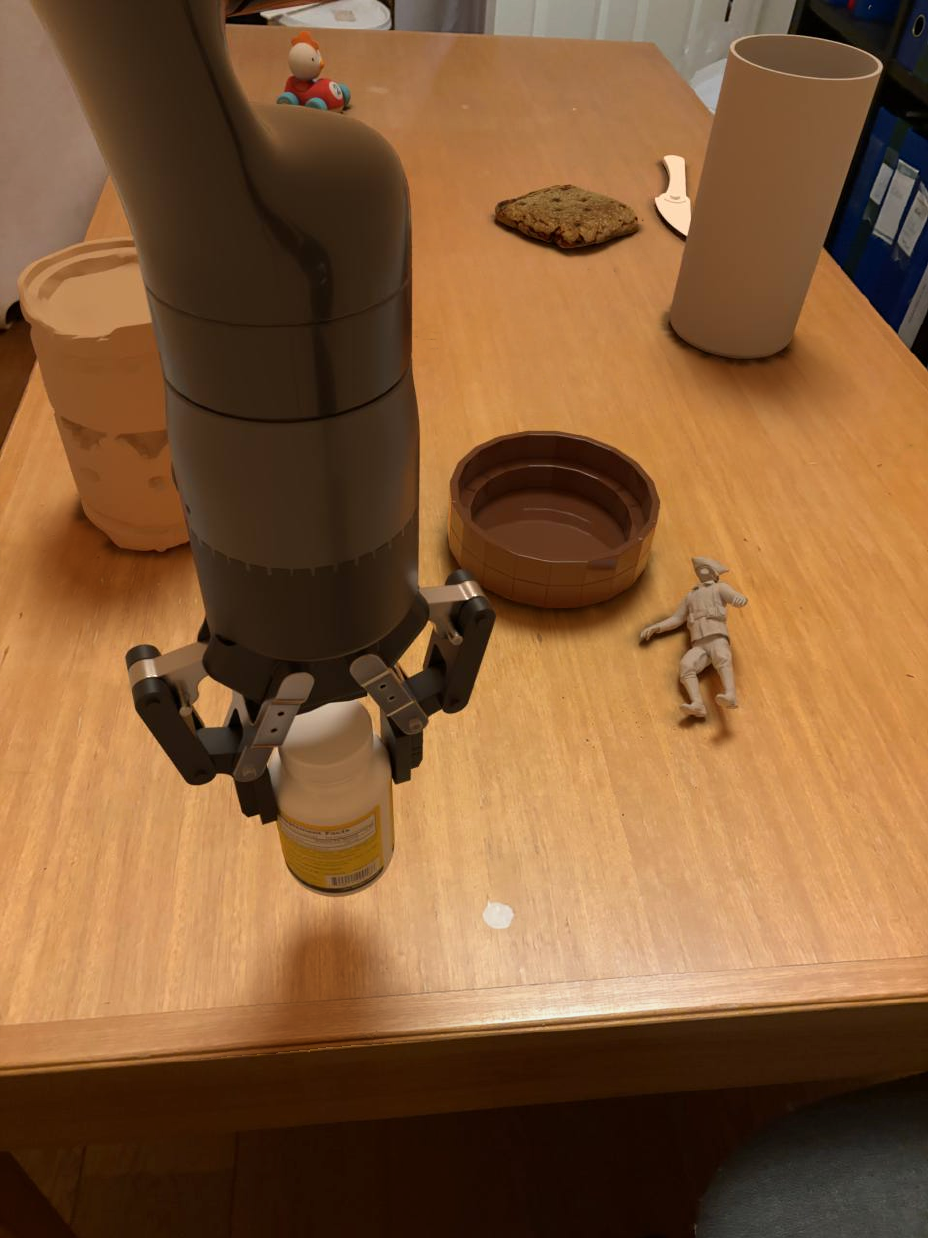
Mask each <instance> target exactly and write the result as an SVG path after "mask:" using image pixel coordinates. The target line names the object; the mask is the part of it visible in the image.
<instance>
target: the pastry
mask: <svg viewBox="0 0 928 1238" xmlns="http://www.w3.org/2000/svg"><path fill="white" fill-rule="evenodd" d="M494 213H495V218H496V220H497V221H498V222H499V223H503V225H505V226H508V227H511V228H513V229H514V228H515V229H517V230H520V231H521V232H522V233H523V234H524V235H525V236H527V237H530V238H532V239H538V240H542V241H544V242H547V243H551V242H553V243H556V244H557V245H558V247H559V248H562V249H572V248H573V249H574V248H576V247H578V248H579V247H584V246H588V245H593V244H600V243H604V242H607V241H609V240H612V239H613V238H616V237H619V236H621V237H622V236H626V235H628V234H632V233H634V232H636V231H637V230H638V229H639V224H638V220H639V218H638V215H637V214H636V212H635V210H634V209H633V208H632V207H630V206H629V205H628V204H627V203H624V202H623V201H619V200H618V199H615V198H613V197H609V196H608V195H604V194H601V193H598V192H594V191H591V190H586V189H584V188H581V187H579V186H577V185H574V184H570V183H569V184H563V185H560V184H555V185H552V186H549V187H545V188H541V189H538V190H534V191H530V192H528V193H526V194H522V195H521V196H518V197H515V198H511V199H504V200H501V201H499V202H497V204H496V205H495V207H494Z"/></svg>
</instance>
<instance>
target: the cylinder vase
mask: <svg viewBox="0 0 928 1238" xmlns="http://www.w3.org/2000/svg"><path fill="white" fill-rule="evenodd" d="M725 63H726V64H725V66H724V72H723V76H722V79H721V80H722V81H721V84H720V89H719V93H718V98H717V103H716V106H715V110H714V111H715V112H714V116H713V120H712V124H711V129H710V134H709V138H708V143H707V147H706V151H705V156H704V161H703V164H702V169H701V172H700V173H701V174H700V178H699V182H698V187H697V191H696V194H695V199H694V204H693V208H692V212H691V221H690V226H689V230H688V235H687V236H686V239H685V244H684V248H683V253H682V256H681V257H682V258H681V262H680V266H679V270H678V274H677V279H676V284H675V288H674V292H673V297H672V301H671V306H670V309H669V322H670V325H671V327H672V329H673V330H674V332H675V333H676V334H677V335H678V336H679V337H680V338H681V339H682V340H683V341H685V342H686V343H687V344H689V345H690V346H692V347H694V348H696V349H698V350H700V351H703V352H706V353H708V354H712V355H715V356H718V357H724V358H731V359H738V360H739V359H740V360H751V359H760V358H765V357H769V356H772V355H774V354H777V353H779V352H781V351H782V350H784V349H785V348H787V346H788V345H789V344H790V342H791V340H792V339H793V337H794V333H795V331H796V328H797V324H798V322H799V319H800V317H801V312H802V310H803V307H804V304H805V300H806V298H807V295H808V292H809V289H810V286H811V283H812V280H813V277H814V274H815V272H816V268H817V265H818V262H819V259H820V256H821V253H822V250H823V247H824V244H825V241H826V239H827V235H828V232H829V229H830V226H831V223H832V222H833V221H832V220H833V217H834V215H835V211H836V208H837V206H838V202H839V200H840V197H841V194H842V190H843V188H844V184H845V181H846V180H847V179H846V178H847V176H848V172H849V170H850V167H851V163H852V160H853V158H854V155H855V152H856V149H857V146H858V143H859V139H860V137H861V134H862V131H863V129H864V125H865V122H866V119H867V116H868V113H869V110H870V107H871V104H872V101H873V98H874V95H875V92H876V90H877V87H878V83H879V80H880V77H881V75H882V71H883V69H884V65H883V63H882V62H881V60H880V59H879V58H877V57H876V56H874V54H873V55H872V54H871V53H870V52H868V51H865V50H863V49H860V48H858V47H855V46H852V45H849V44H845V43H842V42H839V41H834V40H829V39H825V38H819V37H813V36H807V35H797V34H786V33H785V34H784V33H772V34H771V33H765V34H764V33H763V34H754V35H748V36H742V37H740V38H737V39H735V40H733V41H732V42H731V43H730V45H729V50H728V54H727V58H726V62H725Z"/></svg>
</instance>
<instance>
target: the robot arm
mask: <svg viewBox="0 0 928 1238" xmlns="http://www.w3.org/2000/svg"><path fill="white" fill-rule="evenodd" d="M337 1H338V2H339V0H28V2H29V4H30V6H31V7H32V9H33V12H34V14H35V15H36V17H37V19H38V21H39V24H40V26H41V27H42V30H43V31H44V33H45V35H46V37H47V39H48V41H49V43H50V45H51V47H52V49H53V51H54V53H55V55H56V58H57V59H58V62H59V64H60V65H61V67H62V69H63V71H64V73H65V76H66V78H67V80H68V82H69V84H70V86H71V88H72V91H73V94H74V95H75V97H76V101H77V102H78V104H79V106H80V109H81V111H82V113H83V115H84V117H85V120H86V122H87V124H88V126H89V128H90V131H91V134H92V135H93V137H94V141H95V143H96V145H97V147H98V150H99V152H100V154H101V157H102V159H103V162H104V164H105V166H106V169H107V171H108V173H109V176H110V178H111V180H112V183H113V185H114V188H115V191H116V194H117V197H118V198H119V201H120V204H121V206H122V209H123V212H124V214H125V217H126V220H127V223H128V226H129V230H130V233H131V236H133V239H134V243H135V247H136V251H137V256H138V261H139V266H140V271H141V275H142V279H143V284H144V289H145V294H146V298H147V303H148V308H149V312H150V317H151V322H152V327H153V331H154V336H155V341H156V345H157V350H158V355H159V360H160V364H161V367H162V375H163V381H164V390H165V411H166V426H167V436H168V443H169V448H170V454H171V459H172V461H171V471H172V478H173V482H174V484H175V486H176V489H177V491H178V493H179V495H180V500H181V504H182V509H183V513H184V518H185V522H186V527H187V531H188V536H189V540H190V541H189V543H190V549H191V553H192V558H193V562H194V568H195V572H196V577H197V582H198V586H199V590H200V594H201V599H202V604H203V608H204V613H205V614H204V618H203V621H202V623H201V626H200V627H199V630H198V632H197V636H196V641H195V642H193V643H189V644H187V645H185V646H182V647H179V648H177V649H174V650H171V651H169V652H167V653H166V652H165V653H164V654H162V652H160V650H159V649H158V648H157V647H156V646H154V645H152V644H146V643H144V644H138V645H136V646H133V647H131V648H130V649H129V650H127V652H126V654H125V657H124V659H125V664H126V665H125V666H126V669H127V674H128V679H129V680H128V681H129V685H130V690H131V695H132V700H133V706H134V711H135V712H136V713H137V715H138V717H140V719H141V720H142V722H143V723H144V725H145V726H146V728H147V729H148V730H149V732H150V733H151V735H152V737H154V739H156V742H157V743H158V744H159V746H160V747H161V748H162V750H163V751H164V753H165V754H166V756H167V757H168V758H169V761H171V763H172V764H173V766H174V767H175V768H176V770H177V771H178V773H179V774H180V775H181V777H182V778H183V780H184V781H185V782H186V784H188V785H190V786H196V787H197V786H204V785H206V784H208V783H210V782H212V781H213V780H214V779H215V778H216V776H217V775H228V776H230V777H231V778H232V781H233V784H234V788H235V792H236V796H237V800H238V804H239V808H240V810H241V813H242V814H243V815H244V816H245V817H247V818H252V817H255V816H259V819H260V823H261V825H262V826H264V825H267V824H271V823H273V822H276V821H278V816H277V811H276V805H275V800H274V794H273V789H272V783H271V778H270V773H269V770H268V764H269V761H270V758H271V755H272V753H273V751H274V749H275V747H281V746H282V745H283V743H284V741H285V739H286V736H287V734H288V732H289V730H290V727H291V725H292V723H293V721H294V718H295V716H297V715H301V714H304V713H308V712H311V711H313V710H315V709H317V708H320V707H322V706H324V705H326V704H329V703H336V702H347V701H352V700H356V699H357V700H359V699H362V698H367V697H368V696H370V698H371V699H372V700H373V701H374V702H375V703H376V704H377V706H378V707H379V726H380V727H379V729H380V738H381V739H382V741H383V742H384V744H385V746H386V748H387V750H388V753H389V756H390V761H391V768H392V782H393V784H394V785H395V786H397V785H401V784H403V783H406V782H410V781H412V770H414V769H416V768H417V769H418V768H419V767H420V765H421V763H422V761H423V760H424V730H425V729H426V728H427V727H428V725H429V724H430V723H429V722H430V719H429V718H430V717H431V716H432V715H435V714H436V713H438V712H440V711H442V712H443V713H445V714H446V715H447V714H448V715H453V714H457V713H459V712H461V711H463V710H464V709H465V708H466V707H467V706H468V704H469V702H470V699H471V696H472V693H473V690H474V687H475V683H476V681H477V678H478V675H479V672H480V669H481V665H482V663H483V660H484V656H485V655H486V654H485V653H486V651H487V648H488V644H489V641H490V638H491V635H492V633H493V629H494V627H495V623H496V621H497V613H496V611H495V610H494V608H493V607H492V604H491V603H490V601H489V598H488V597H487V595H486V593H485V591H484V589H483V587H482V586H481V585H479V583H478V582H477V581H476V579H475V577H474V576H473V574H472V572H471V571H470V570H467V569H461V568H460V569H457V570H454V571H453V572H452V573H450V574H449V575H448V576H447V577H446V579H445V582H444V585H438V586H437V585H436V586H427V587H426V586H425V587H420V585H419V576H420V575H419V572H420V571H419V568H420V567H419V566H420V565H419V564H420V563H419V561H420V559H419V558H420V478H421V477H420V474H421V473H420V472H421V471H420V470H421V469H420V467H421V466H420V465H421V462H420V461H421V428H420V427H421V426H420V414H419V406H418V398H417V392H416V387H415V386H416V385H415V380H414V379H415V378H414V371H413V355H412V354H413V230H412V229H413V228H412V227H413V226H412V203H411V194H410V187H409V182H408V178H407V175H406V172H405V169H404V166H403V163H402V161H401V158H400V156H399V154H398V152H397V151H396V149H395V148H394V146H393V145H392V144H391V143H390V142H389V141H388V140H387V139H386V138H385V137H384V136H383V135H382V134H381V133H380V132H379V131H377V130H376V129H374V128H373V127H371V126H370V125H368V124H366V123H365V122H363V121H361V120H358V119H356V118H353V117H351V116H348V115H345V114H343V113H336V112H332V111H326V110H320V109H315V108H309V107H304V106H298V105H284V104H276V103H268V102H259V101H258V102H257V101H249V100H248V97H247V95H246V93H245V91H244V89H243V87H242V84H241V82H240V80H239V78H238V76H237V74H236V71H235V69H234V66H233V63H232V59H231V55H230V51H229V46H228V40H227V34H226V32H227V31H226V18H231V17H238V16H245V15H250V14H257V13H264V12H270V11H276V10H282V9H290V8H296V7H301V6H302V7H303V6H308V5H315V4H321V3H332V2H337ZM428 622H430V624H431V626H432V630H431V634H430V636H429V637H430V638H429V641H428V645H427V648H426V652H425V655H424V659H423V662H422V670H420V671H418V672H417V673H414V674H413V675H411V676H409V675H408V674H407V671H405V669H404V668H403V667H402V665H401V664H400V662H399V660H401V658H403V655H405V654H406V653H407V651H408V649H409V648H410V647H411V646H412V644H414V642H415V641H416V639H417V638H418V637H419V636H420V635H421V633H422V632H423V631H424V629H425V628H426V626H427V625H428ZM206 677H209V678H211V679H212V680H213V681H215V682H216V683H219V684H220V685H222V686H224V687H226V688H228V689H230V690H231V693H232V695H231V696H232V697H231V698H232V699H231V702H230V705H229V707H228V710H227V712H226V715H225V718H224V721H223V723H222V725H221V726H213V727H206V725H205V722H204V721H203V719H202V718H201V716H200V714H199V713H198V711H197V709H196V708H195V705H194V704H195V703H196V702H197V701H198V699H199V698H200V691H199V685H200V683H201V681H203V680H204V679H205V678H206Z"/></svg>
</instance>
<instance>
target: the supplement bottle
mask: <svg viewBox="0 0 928 1238" xmlns="http://www.w3.org/2000/svg"><path fill="white" fill-rule="evenodd" d="M372 720H373V719H372V717H371V714H370V712H369V711H368V708H366V706H365V705H364V704H363V703H362V702H360V701H359V699H356V700H352V701H347V702H336V703H329V704H326V705H324V706H322V707H320V708H317V709H315V710H313V711H311V712H308V713H304V714H301V715H297V716H295V718H294V721H293V723H292V725H291V727H290V730H289V732H288V734H287V736H286V739H285V741H284V743H283V745H282V746H281V747H274V749H273V751H272V754H271V756H270V758H269V761H268V764H267V767H268V770H269V773H270V778H271V783H272V789H273V794H274V800H275V805H276V811H277V816H278V821H275V823H276V828H277V831H278V837H279V841H280V847H281V850H282V851H281V852H282V855H283V859H284V862H285V866H286V868H287V870H288V872H289V873H290V875H291V877H293V879H294V880H295V881H296V882H297V883H298V884H299V886H301V887H303V888H304V889H306V890H308V891H309V892H310V893H313V894H316V895H318V896H323V897H330V898H343V897H349V896H354V895H356V894H359V893H361V892H363V891H365V890H367V889H369V888H370V887H372V886H373V885H374V884H376V883H377V882H378V881H379V880H380V879H381V878H382V877H383V875H384V874H385V873H386V872H387V870H388V868H389V867H390V865H391V862H392V859H393V856H394V852H395V839H396V838H395V835H396V833H395V815H394V797H393V796H394V792H393V791H394V790H393V779H392V768H391V761H390V756H389V753H388V750H387V748H386V746H385V744H384V742H383V741H382V739H381V736H379V734H377V733H376V731H374V730H373V729H374V728H373V721H372Z"/></svg>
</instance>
